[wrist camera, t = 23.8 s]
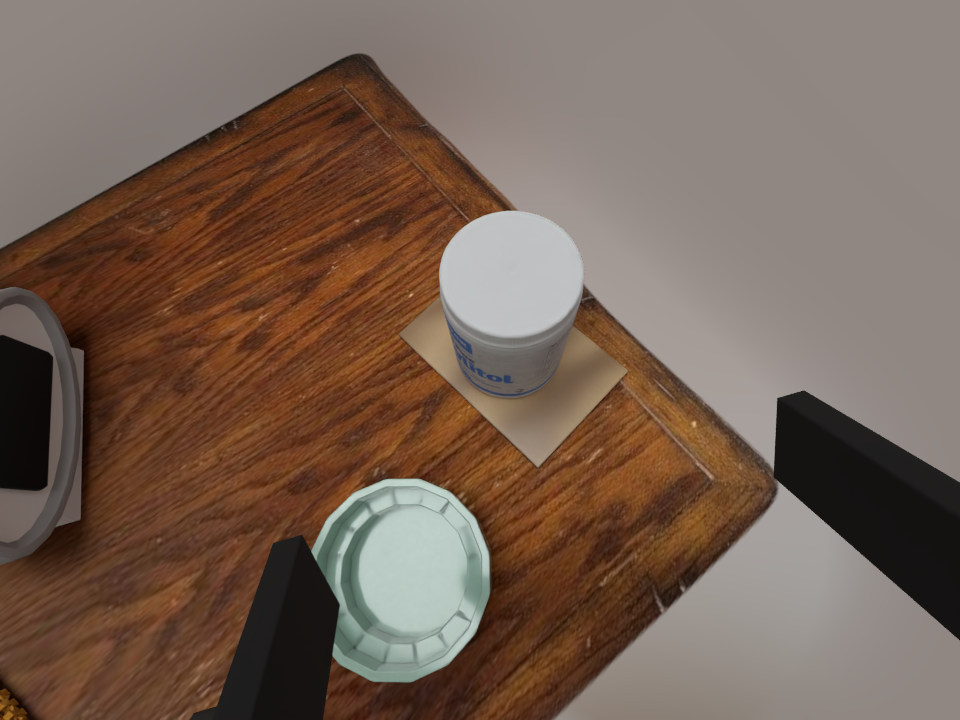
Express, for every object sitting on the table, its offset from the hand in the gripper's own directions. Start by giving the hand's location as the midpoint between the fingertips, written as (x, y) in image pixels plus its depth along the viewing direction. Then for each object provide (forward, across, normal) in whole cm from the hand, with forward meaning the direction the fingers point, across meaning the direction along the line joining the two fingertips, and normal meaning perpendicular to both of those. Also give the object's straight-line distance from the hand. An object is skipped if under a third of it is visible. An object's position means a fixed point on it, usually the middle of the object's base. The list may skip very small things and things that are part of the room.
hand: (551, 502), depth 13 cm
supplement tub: (+29, +3, -9) cm, 31 cm away
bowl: (+19, -10, -20) cm, 29 cm away
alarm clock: (+33, -40, -7) cm, 52 cm away
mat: (+30, +3, -9) cm, 31 cm away
